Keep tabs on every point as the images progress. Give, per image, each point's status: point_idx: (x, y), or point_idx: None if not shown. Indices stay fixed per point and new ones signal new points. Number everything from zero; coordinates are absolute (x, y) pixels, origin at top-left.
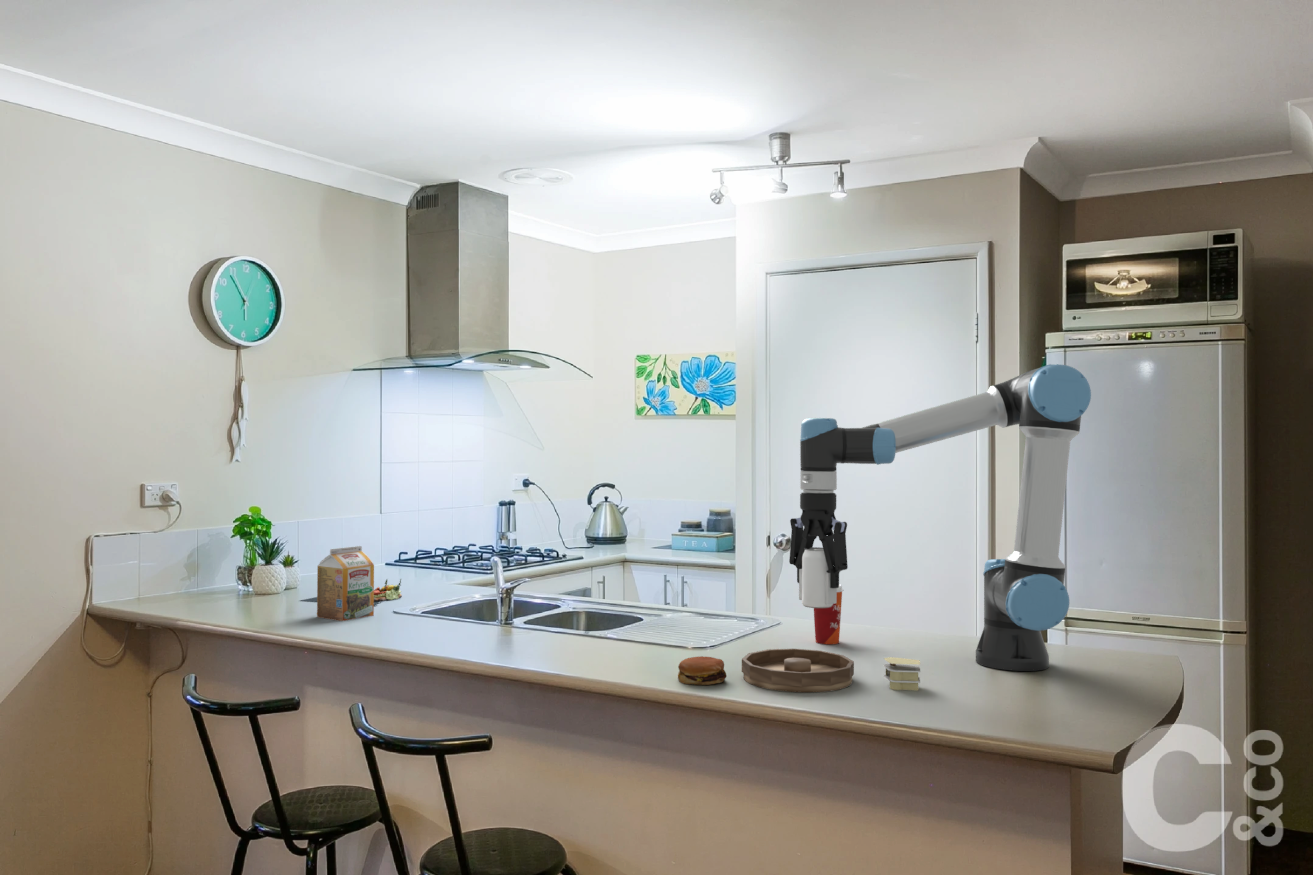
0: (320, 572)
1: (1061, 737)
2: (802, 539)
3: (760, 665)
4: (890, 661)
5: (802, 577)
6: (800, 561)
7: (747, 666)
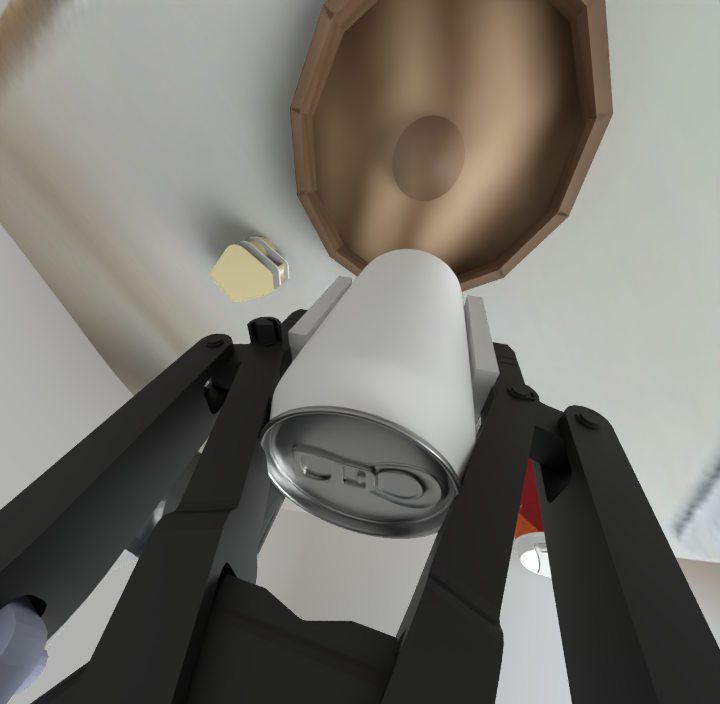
0: None
1: (3, 169)
2: (563, 642)
3: (557, 151)
4: (247, 258)
5: (446, 309)
6: (497, 406)
7: None
